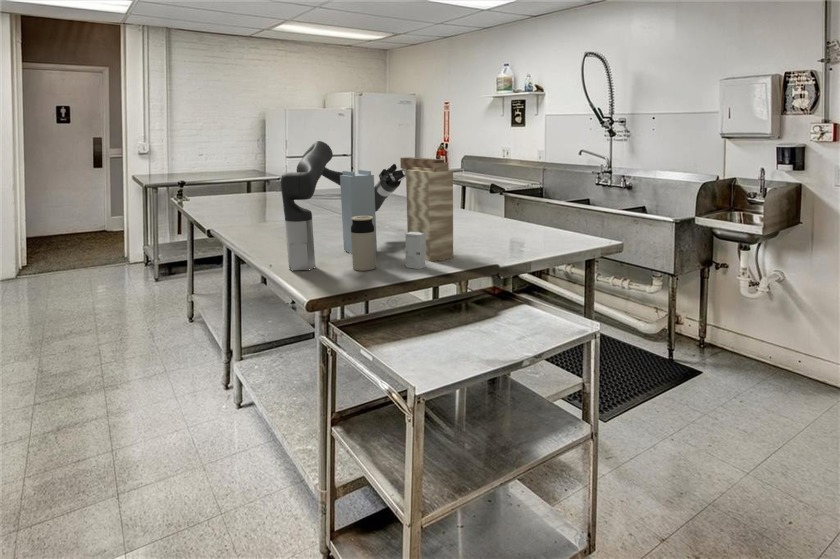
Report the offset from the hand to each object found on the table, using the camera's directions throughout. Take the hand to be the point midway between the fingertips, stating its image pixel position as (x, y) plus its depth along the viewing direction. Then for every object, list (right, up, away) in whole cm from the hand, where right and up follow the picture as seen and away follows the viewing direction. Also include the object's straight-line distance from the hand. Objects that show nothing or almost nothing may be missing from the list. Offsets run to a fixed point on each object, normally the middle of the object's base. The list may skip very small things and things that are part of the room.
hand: (405, 165), depth 217 cm
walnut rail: (+6, -3, -10) cm, 12 cm away
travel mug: (-14, -41, -22) cm, 48 cm away
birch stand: (+10, -35, -5) cm, 37 cm away
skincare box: (+4, -40, -22) cm, 46 cm away
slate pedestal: (-18, -33, +4) cm, 38 cm away
